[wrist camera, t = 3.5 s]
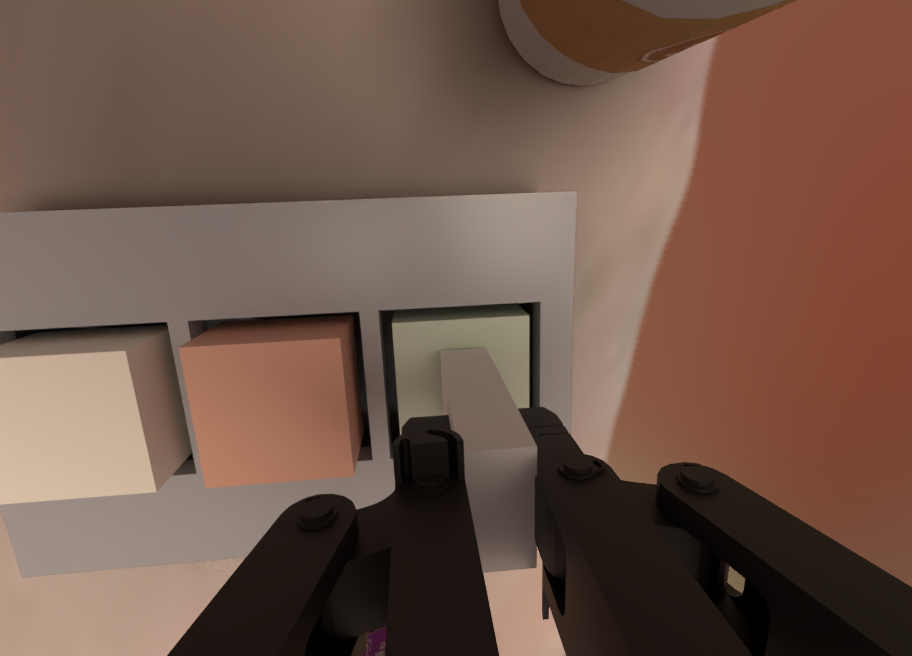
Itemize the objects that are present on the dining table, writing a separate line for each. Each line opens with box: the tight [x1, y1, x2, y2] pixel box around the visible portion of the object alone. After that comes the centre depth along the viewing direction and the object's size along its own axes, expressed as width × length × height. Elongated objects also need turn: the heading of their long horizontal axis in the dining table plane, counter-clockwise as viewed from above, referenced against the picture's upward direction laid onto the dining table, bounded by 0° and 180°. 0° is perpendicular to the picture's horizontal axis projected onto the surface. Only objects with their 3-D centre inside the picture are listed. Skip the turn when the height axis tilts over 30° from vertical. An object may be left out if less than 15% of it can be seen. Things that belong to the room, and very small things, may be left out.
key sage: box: [392, 303, 529, 435], centre depth 17 cm, size 4×4×3 cm
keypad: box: [0, 191, 577, 578], centre depth 18 cm, size 12×19×5 cm, turn 92°
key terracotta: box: [179, 315, 364, 488], centre depth 15 cm, size 4×4×3 cm
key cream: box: [0, 325, 192, 505], centre depth 15 cm, size 4×4×3 cm
